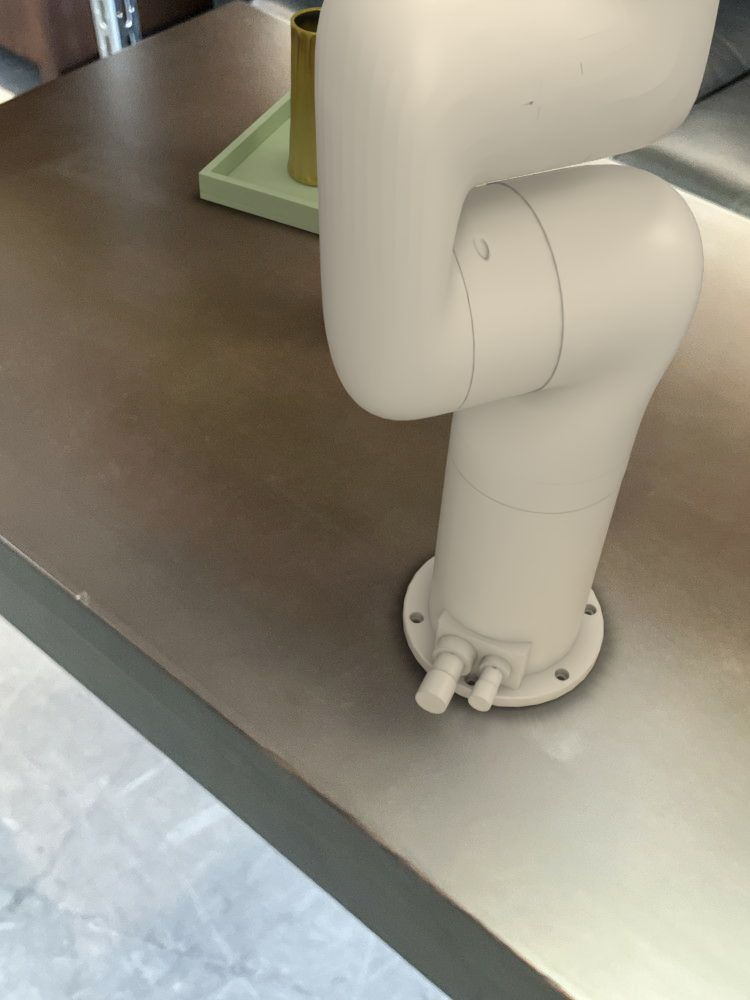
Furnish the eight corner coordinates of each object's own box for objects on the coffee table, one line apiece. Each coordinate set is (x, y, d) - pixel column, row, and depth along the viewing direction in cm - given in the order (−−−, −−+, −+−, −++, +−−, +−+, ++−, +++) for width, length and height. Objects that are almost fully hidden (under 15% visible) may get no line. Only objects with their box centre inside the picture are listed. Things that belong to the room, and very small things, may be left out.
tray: (354, 245, 101) (355, 219, 99) (200, 198, 105) (198, 173, 103) (432, 153, 112) (434, 129, 110) (289, 114, 116) (289, 89, 114)
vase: (364, 166, 109) (370, 16, 98) (328, 195, 105) (331, 43, 95) (311, 146, 111) (311, -2, 100) (274, 174, 107) (270, 23, 97)
